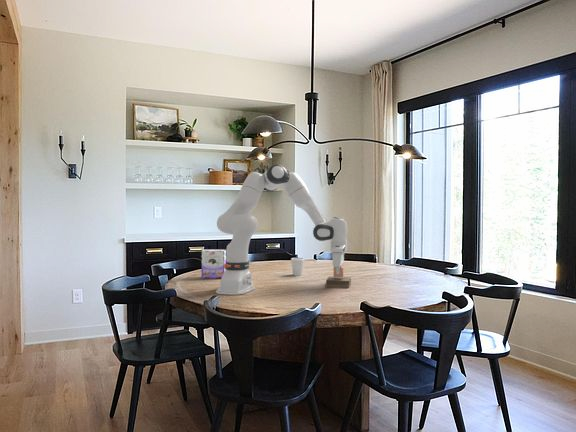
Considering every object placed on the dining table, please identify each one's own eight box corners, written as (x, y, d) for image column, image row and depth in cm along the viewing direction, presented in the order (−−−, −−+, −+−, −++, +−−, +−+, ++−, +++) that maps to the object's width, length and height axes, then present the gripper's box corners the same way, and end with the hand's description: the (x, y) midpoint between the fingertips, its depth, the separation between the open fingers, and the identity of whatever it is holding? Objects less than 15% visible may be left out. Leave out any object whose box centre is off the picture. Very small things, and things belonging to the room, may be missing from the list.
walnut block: (348, 288, 245) (349, 281, 244) (326, 287, 247) (326, 280, 247) (350, 284, 256) (350, 277, 256) (329, 283, 259) (329, 276, 259)
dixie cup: (288, 274, 287) (288, 258, 286) (301, 273, 290) (301, 257, 289) (293, 276, 279) (293, 259, 278) (306, 275, 282) (306, 259, 281)
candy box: (226, 277, 277) (226, 249, 276) (224, 278, 271) (224, 250, 270) (203, 276, 278) (203, 249, 278) (201, 278, 273) (200, 250, 272)
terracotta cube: (342, 276, 249) (343, 267, 248) (333, 276, 250) (333, 267, 249) (343, 275, 253) (343, 266, 253) (334, 275, 255) (334, 265, 254)
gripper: (335, 245, 262) (335, 269, 262) (330, 249, 242) (330, 275, 242) (346, 245, 260) (346, 270, 261) (342, 249, 240) (342, 276, 241)
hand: (338, 273), depth 251 cm, fingers closed on terracotta cube, 5 cm apart
